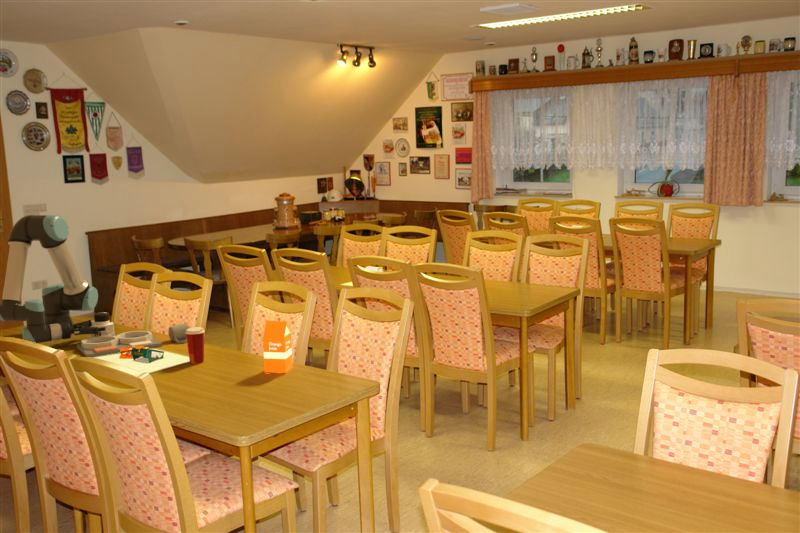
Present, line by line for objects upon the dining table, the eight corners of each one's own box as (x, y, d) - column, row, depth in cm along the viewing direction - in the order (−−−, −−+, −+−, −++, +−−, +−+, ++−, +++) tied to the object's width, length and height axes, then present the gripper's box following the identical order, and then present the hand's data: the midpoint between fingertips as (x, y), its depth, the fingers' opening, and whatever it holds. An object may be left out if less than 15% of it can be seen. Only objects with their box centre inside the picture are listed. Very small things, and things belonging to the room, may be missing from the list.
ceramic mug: (168, 340, 358) (167, 324, 356) (185, 337, 362) (184, 321, 360) (174, 345, 349) (173, 328, 347) (192, 342, 353) (191, 326, 352)
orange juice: (286, 374, 298) (283, 323, 295) (264, 373, 300) (261, 323, 297) (292, 368, 306) (290, 319, 303) (271, 367, 307) (269, 318, 304)
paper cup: (209, 359, 322) (207, 326, 320) (202, 364, 314) (200, 331, 312) (191, 359, 323) (188, 326, 321) (184, 364, 315) (181, 331, 313)
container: (108, 342, 356) (106, 314, 354) (92, 342, 357) (89, 315, 355) (115, 338, 364) (112, 311, 362) (98, 338, 364) (96, 311, 362)
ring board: (77, 347, 348) (76, 339, 347) (148, 337, 365) (148, 328, 364) (87, 358, 329) (86, 348, 329) (162, 346, 346) (161, 337, 346)
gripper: (56, 334, 360) (104, 327, 372) (66, 344, 340) (116, 337, 351) (55, 318, 359) (102, 312, 371) (64, 328, 339) (114, 321, 350)
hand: (109, 324), depth 361 cm, fingers open, 13 cm apart
